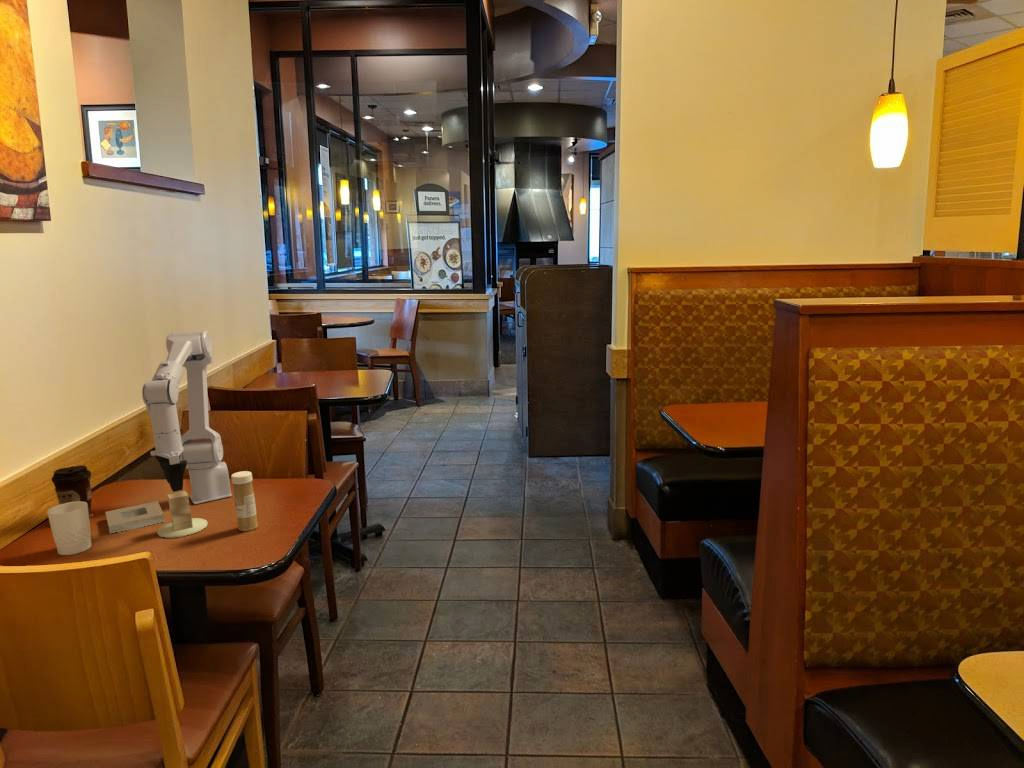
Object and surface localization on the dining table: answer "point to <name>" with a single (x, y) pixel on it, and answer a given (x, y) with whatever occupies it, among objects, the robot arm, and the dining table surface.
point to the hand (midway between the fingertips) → (175, 486)
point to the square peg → (180, 511)
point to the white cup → (70, 527)
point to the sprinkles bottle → (244, 500)
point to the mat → (169, 532)
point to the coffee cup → (73, 485)
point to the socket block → (134, 517)
